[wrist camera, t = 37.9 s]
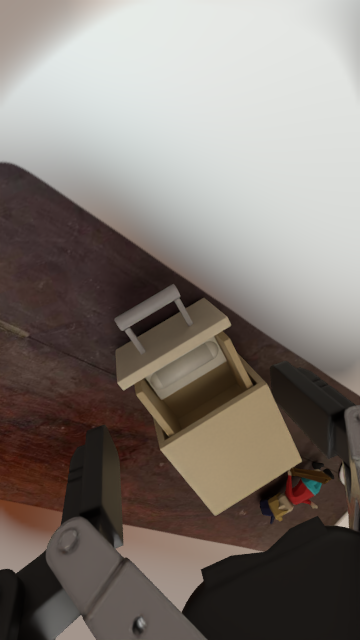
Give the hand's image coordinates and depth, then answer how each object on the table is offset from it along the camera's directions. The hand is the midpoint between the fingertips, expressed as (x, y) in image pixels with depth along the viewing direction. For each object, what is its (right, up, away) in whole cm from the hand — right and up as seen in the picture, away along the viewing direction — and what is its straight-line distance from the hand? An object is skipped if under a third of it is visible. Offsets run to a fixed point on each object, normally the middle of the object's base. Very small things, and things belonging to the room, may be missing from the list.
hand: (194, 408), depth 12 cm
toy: (+20, -27, +40) cm, 52 cm away
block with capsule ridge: (-1, 0, +22) cm, 22 cm away
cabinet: (+4, -10, +29) cm, 31 cm away
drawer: (-1, 0, +23) cm, 23 cm away
